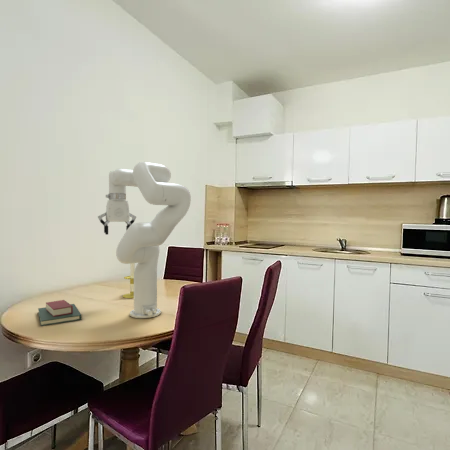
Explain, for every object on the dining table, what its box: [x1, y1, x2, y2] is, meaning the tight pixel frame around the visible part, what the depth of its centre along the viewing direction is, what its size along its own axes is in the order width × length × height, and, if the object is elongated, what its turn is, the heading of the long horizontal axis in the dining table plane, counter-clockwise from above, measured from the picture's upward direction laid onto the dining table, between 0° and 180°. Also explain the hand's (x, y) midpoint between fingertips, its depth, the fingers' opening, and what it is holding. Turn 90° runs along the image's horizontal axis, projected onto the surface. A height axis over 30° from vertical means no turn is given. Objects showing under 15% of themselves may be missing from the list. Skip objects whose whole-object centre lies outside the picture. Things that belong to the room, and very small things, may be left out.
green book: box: [37, 303, 82, 327], centre depth 133 cm, size 20×14×2 cm
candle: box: [122, 263, 136, 299], centre depth 168 cm, size 10×10×27 cm
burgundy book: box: [45, 299, 73, 317], centre depth 132 cm, size 13×7×3 cm, turn 41°
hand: (117, 234), depth 151 cm, fingers open, 9 cm apart
